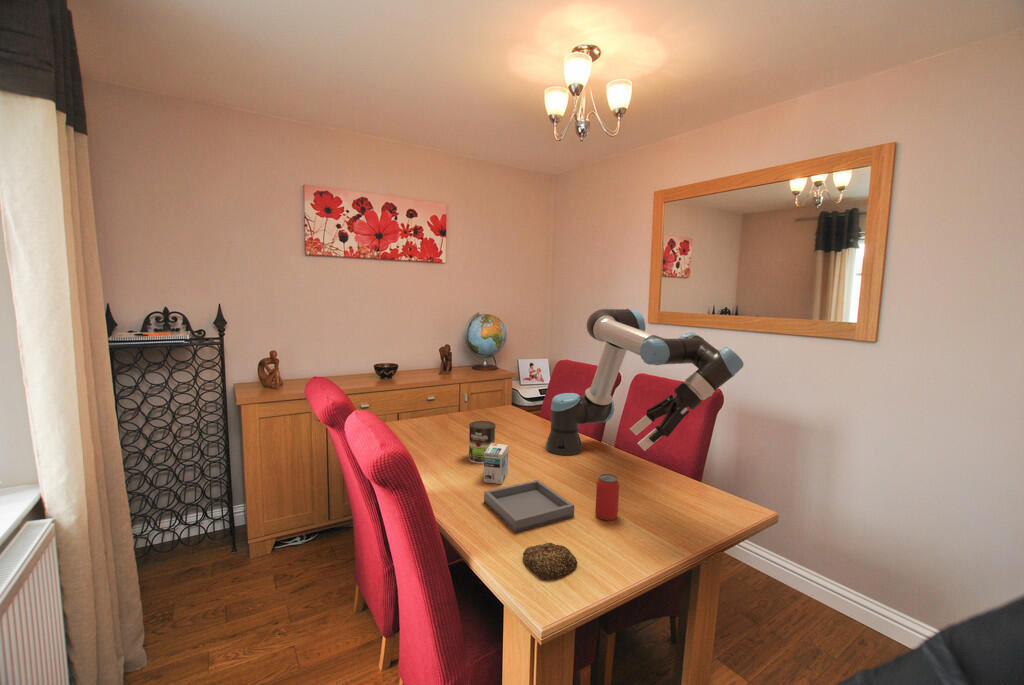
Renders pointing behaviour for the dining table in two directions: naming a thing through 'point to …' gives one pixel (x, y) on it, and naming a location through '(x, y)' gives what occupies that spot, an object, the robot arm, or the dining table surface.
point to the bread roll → (549, 560)
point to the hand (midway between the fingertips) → (636, 439)
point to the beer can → (607, 497)
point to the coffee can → (480, 439)
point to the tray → (528, 505)
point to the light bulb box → (496, 463)
